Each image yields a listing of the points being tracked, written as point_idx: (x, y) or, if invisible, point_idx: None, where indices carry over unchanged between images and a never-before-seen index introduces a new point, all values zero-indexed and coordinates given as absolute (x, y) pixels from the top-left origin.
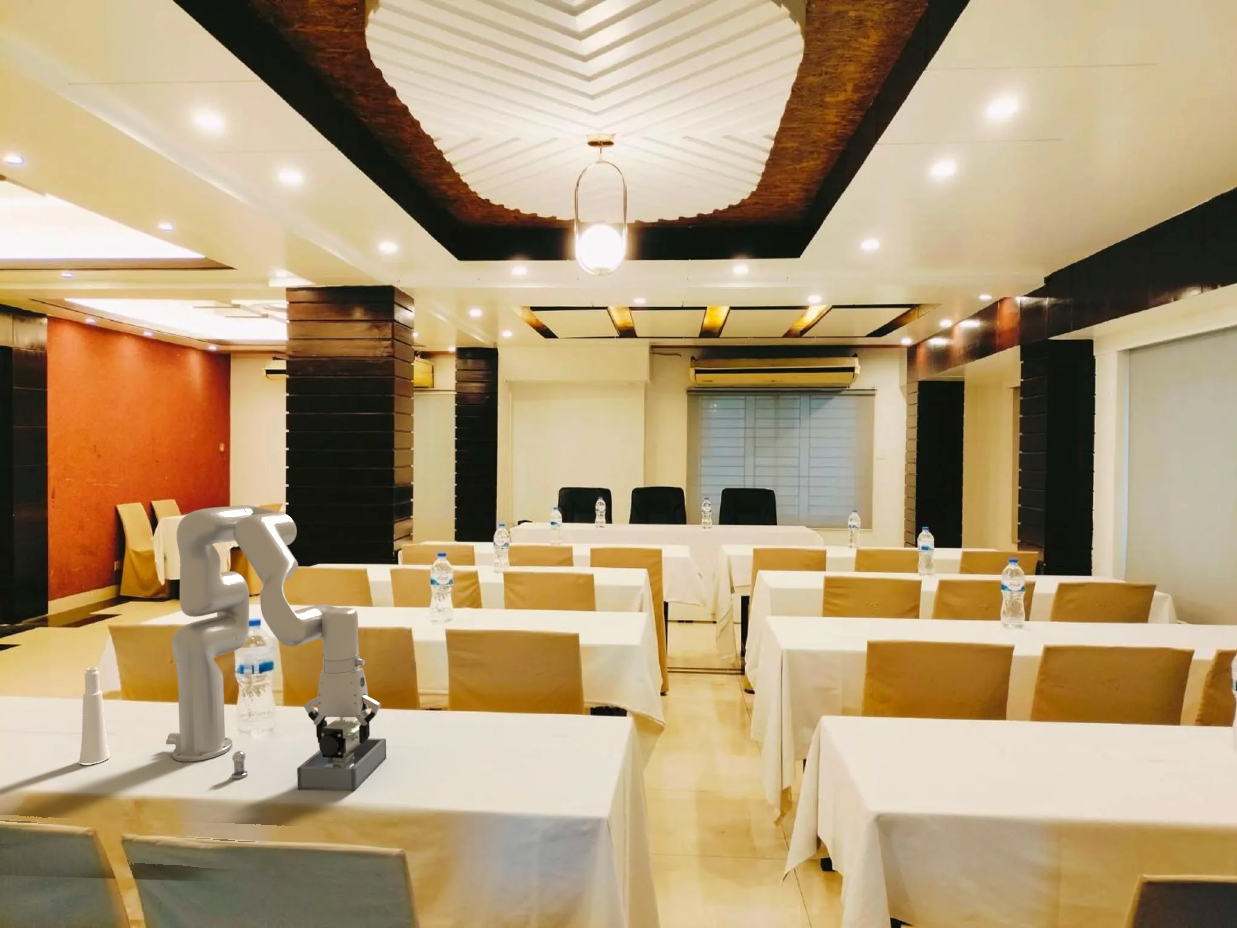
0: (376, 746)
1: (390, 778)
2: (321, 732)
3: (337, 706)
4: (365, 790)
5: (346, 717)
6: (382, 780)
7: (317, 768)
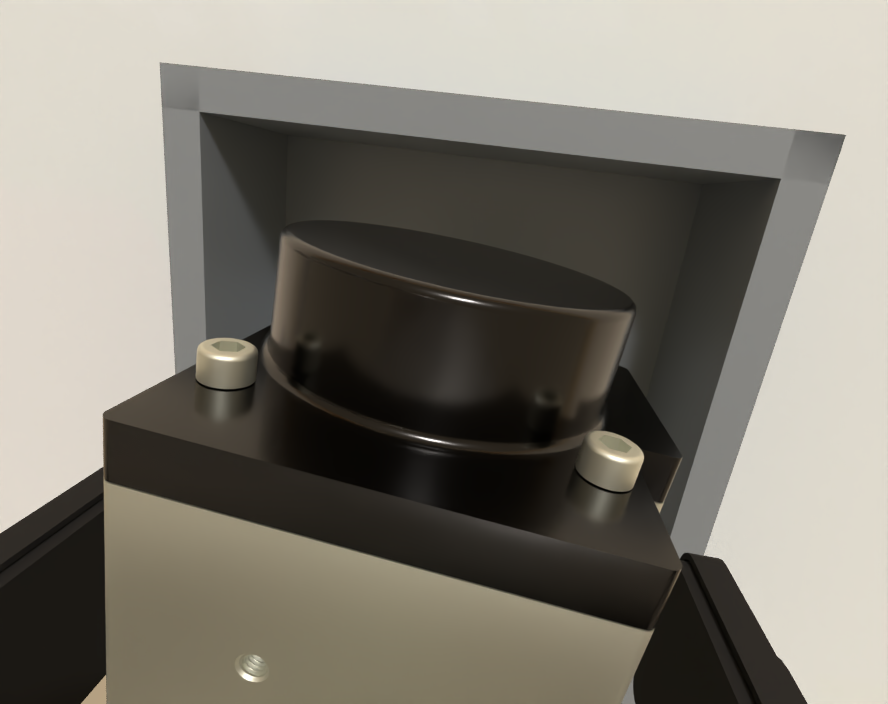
0: (745, 383)
1: (812, 534)
2: (93, 671)
3: None
4: None
5: (279, 629)
6: (755, 552)
7: None
